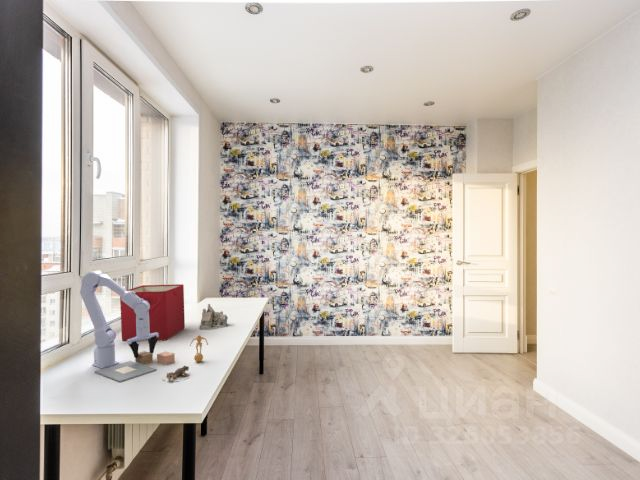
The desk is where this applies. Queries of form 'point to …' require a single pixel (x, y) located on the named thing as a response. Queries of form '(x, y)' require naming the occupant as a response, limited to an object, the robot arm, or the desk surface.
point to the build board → (125, 371)
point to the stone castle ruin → (212, 319)
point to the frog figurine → (177, 375)
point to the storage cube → (156, 311)
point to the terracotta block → (165, 357)
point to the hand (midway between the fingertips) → (144, 355)
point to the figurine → (198, 356)
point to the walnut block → (144, 357)
